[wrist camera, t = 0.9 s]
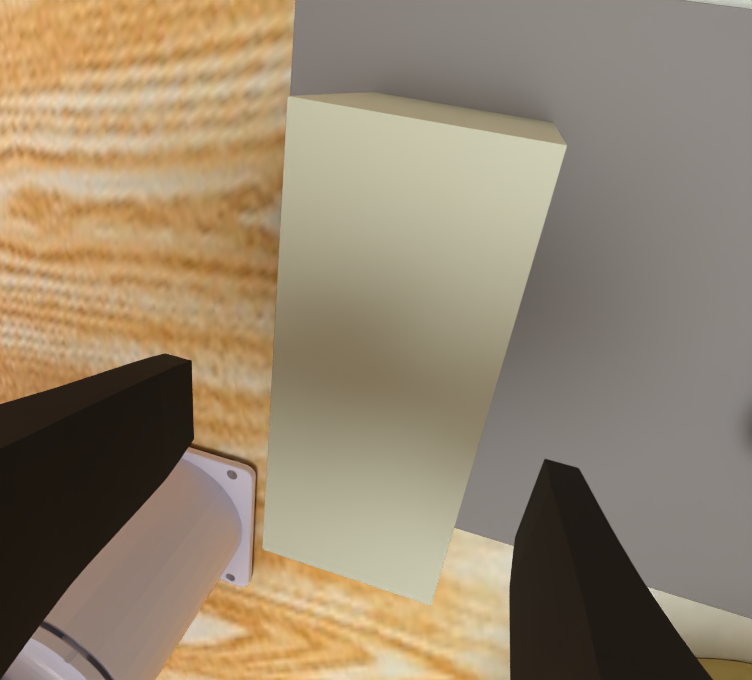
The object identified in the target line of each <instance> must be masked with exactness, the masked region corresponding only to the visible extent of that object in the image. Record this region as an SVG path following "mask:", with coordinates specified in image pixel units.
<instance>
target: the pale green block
mask: <svg viewBox="0 0 752 680" xmlns="http://www.w3.org/2000/svg"><path fill="white" fill-rule="evenodd" d="M566 147H567V145H566V143H565V141H564V139H563V138H562V136H561V134H560V133H559V131H558V129H557V127H556V126H555V124H554V123H553V122H547V121H541V120H535V119H529V118H523V117H517V116H512V115H506V114H500V113H494V112H488V111H482V110H476V109H470V108H465V107H459V106H453V105H447V104H441V103H435V102H429V101H424V100H418V99H412V98H406V97H400V96H394V95H388V94H382V93H377V92H364V93H342V94H321V95H300V96H288V99H287V117H286V135H285V153H284V171H283V189H282V206H281V224H280V242H279V260H278V278H277V296H276V314H275V332H274V350H273V368H272V386H271V404H270V422H269V439H268V457H267V475H266V493H265V511H264V529H263V547H262V549H263V550H266V551H269V552H272V553H275V554H278V555H281V556H284V557H287V558H290V559H293V560H296V561H299V562H302V563H305V564H308V565H311V566H314V567H317V568H320V569H323V570H326V571H329V572H332V573H335V574H338V575H340V576H343V577H346V578H349V579H352V580H355V581H358V582H361V583H364V584H367V585H370V586H373V587H376V588H379V589H382V590H385V591H388V592H391V593H394V594H397V595H400V596H403V597H406V598H409V599H412V600H415V601H418V602H421V603H424V604H427V605H430V606H431V604H432V601H433V597H434V594H435V591H436V587H437V584H438V580H439V577H440V574H441V570H442V567H443V564H444V560H445V557H446V553H447V550H448V547H449V543H450V540H451V536H452V533H453V530H454V526H455V523H456V520H457V516H458V513H459V509H460V506H461V503H462V499H463V496H464V492H465V489H466V486H467V482H468V479H469V476H470V472H471V469H472V465H473V462H474V459H475V455H476V452H477V449H478V445H479V442H480V438H481V435H482V432H483V428H484V425H485V421H486V418H487V415H488V411H489V408H490V405H491V401H492V398H493V394H494V391H495V388H496V384H497V381H498V377H499V374H500V371H501V367H502V364H503V361H504V357H505V354H506V350H507V347H508V344H509V340H510V337H511V334H512V330H513V327H514V323H515V320H516V317H517V313H518V310H519V306H520V303H521V300H522V296H523V293H524V290H525V286H526V283H527V279H528V276H529V273H530V269H531V266H532V262H533V259H534V256H535V252H536V249H537V246H538V242H539V239H540V235H541V232H542V229H543V225H544V222H545V219H546V215H547V212H548V208H549V205H550V202H551V198H552V195H553V191H554V188H555V185H556V181H557V178H558V175H559V171H560V168H561V164H562V161H563V158H564V154H565V151H566Z"/></svg>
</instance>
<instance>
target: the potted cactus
mask: <svg viewBox="0 0 752 680" xmlns="http://www.w3.org/2000/svg"><path fill="white" fill-rule="evenodd" d="M698 661H699V662H700V663H701V665H702V666H703V667H704V669H705V670H706V671H707V672H708V674H709V675H710V676H711V678H712V679H713V680H752V664H749V663H744V662H738V661H729V660H720V659H698Z"/></svg>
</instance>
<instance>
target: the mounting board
mask: <svg viewBox="0 0 752 680" xmlns="http://www.w3.org/2000/svg"><path fill="white" fill-rule="evenodd" d="M364 92H377V93H382V94H388V95H394V96H400V97H406V98H412V99H418V100H424V101H429V102H435V103H441V104H447V105H453V106H459V107H465V108H470V109H476V110H482V111H488V112H494V113H500V114H506V115H512V116H517V117H523V118H529V119H535V120H541V121H547V122H553V123H554V124H555V126H556V127H557V129H558V131H559V133H560V134H561V136H562V138H563V139H564V141H565V143H566V145H567V147H566V151H565V154H564V158H563V161H562V164H561V168H560V171H559V175H558V178H557V181H556V185H555V188H554V191H553V195H552V198H551V202H550V205H549V208H548V212H547V215H546V219H545V222H544V225H543V229H542V232H541V235H540V239H539V242H538V246H537V249H536V252H535V256H534V259H533V262H532V266H531V269H530V273H529V276H528V279H527V283H526V286H525V290H524V293H523V296H522V300H521V303H520V306H519V310H518V313H517V317H516V320H515V323H514V327H513V330H512V334H511V337H510V340H509V344H508V347H507V350H506V354H505V357H504V361H503V364H502V367H501V371H500V374H499V377H498V381H497V384H496V388H495V391H494V394H493V398H492V401H491V405H490V408H489V411H488V415H487V418H486V421H485V425H484V428H483V432H482V435H481V438H480V442H479V445H478V449H477V452H476V455H475V459H474V462H473V465H472V469H471V472H470V476H469V479H468V482H467V486H466V489H465V492H464V496H463V499H462V503H461V506H460V509H459V513H458V516H457V520H456V523H455V526H454V528H457V529H460V530H464V531H467V532H470V533H473V534H477V535H480V536H483V537H487V538H490V539H493V540H496V541H500V542H503V543H506V544H509V545H513V546H514V542H515V536H516V533H517V530H518V528H519V525H520V522H521V520H522V517H523V514H524V512H525V509H526V507H527V504H528V501H529V499H530V496H531V493H532V491H533V488H534V485H535V483H536V480H537V477H538V475H539V472H540V469H541V467H542V464H543V461H544V459H548V460H552V461H555V462H559V463H563V464H566V465H570V466H574V467H577V468H579V469H580V471H581V473H582V474H583V476H584V478H585V480H586V482H587V483H588V485H589V487H590V489H591V491H592V493H593V495H594V497H595V498H596V500H597V502H598V504H599V506H600V508H601V509H602V511H603V513H604V515H605V517H606V518H607V520H608V522H609V524H610V526H611V527H612V529H613V531H614V533H615V535H616V536H617V538H618V540H619V542H620V543H621V545H622V547H623V548H624V550H625V552H626V553H627V555H628V557H629V558H630V560H631V562H632V563H633V565H634V567H635V568H636V570H637V572H638V573H639V575H640V577H641V578H642V580H643V581H644V583H645V584H646V586H647V587H650V588H653V589H656V590H660V591H663V592H666V593H669V594H673V595H676V596H679V597H682V598H686V599H689V600H692V601H695V602H699V603H702V604H705V605H709V606H712V607H715V608H718V609H722V610H725V611H728V612H731V613H735V614H738V615H741V616H744V617H748V618H751V619H752V9H747V8H739V7H731V6H724V5H716V4H708V3H700V2H692V1H684V0H296V3H295V20H294V37H293V55H292V72H291V89H290V96H300V95H321V94H342V93H364Z"/></svg>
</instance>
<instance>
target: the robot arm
mask: <svg viewBox="0 0 752 680" xmlns="http://www.w3.org/2000/svg"><path fill="white" fill-rule="evenodd" d="M193 440H194V427H193V393H192V361H191V360H187V359H183V358H180V357H176V356H172V355H169V354H161V355H157V356H153V357H150V358H146V359H143V360H140V361H136V362H133V363H130V364H127V365H124V366H121V367H118V368H115V369H112V370H109V371H106V372H103V373H100V374H97V375H94V376H91V377H87V378H84V379H81V380H78V381H75V382H72V383H69V384H66V385H63V386H60V387H57V388H54V389H50V390H47V391H44V392H40V393H37V394H34V395H30V396H27V397H23V398H20V399H17V400H13V401H10V402H7V403H3V404H0V680H156V678H157V677H158V675H159V674H160V672H161V670H162V669H163V667H164V666H165V664H166V663H167V661H168V659H169V658H170V656H171V655H172V653H173V651H174V650H175V648H176V647H177V645H178V644H179V642H180V640H181V639H182V637H183V636H184V634H185V632H186V631H187V629H188V628H189V626H190V625H191V623H192V621H193V620H194V618H195V617H196V615H197V613H198V612H199V610H200V609H201V607H202V606H203V604H204V602H205V601H206V599H207V598H208V596H209V594H210V593H211V591H212V590H213V588H214V586H215V585H216V583H217V582H218V580H219V579H220V580H223V581H226V582H229V583H231V584H234V585H237V586H241V587H245V586H247V585H248V584H249V582H250V580H251V576H252V553H253V530H254V507H255V484H256V474H255V472H254V470H253V469H252V468H251V467H250V466H248V465H246V464H242V463H239V462H236V461H233V460H229V459H226V458H223V457H220V456H216V455H213V454H210V453H206V452H203V451H200V450H197V449H193V448H190V447H189V446H190V444H191V443H192V441H193ZM233 471H234V472H235V473H234V472H233ZM510 679H511V680H713V679H712V678H711V676H710V675H709V674H708V672H707V671H706V670H705V669H704V667H703V666H702V665H701V663H700V662H699V661H698V659H697V658H696V657H695V655H694V654H693V653H692V652H691V650H690V649H689V647H688V646H687V645H686V643H685V642H684V641H683V639H682V638H681V636H680V635H679V634H678V632H677V631H676V629H675V628H674V627H673V625H672V624H671V622H670V621H669V619H668V618H667V616H666V615H665V613H664V612H663V610H662V609H661V607H660V606H659V604H658V603H657V601H656V600H655V598H654V597H653V595H652V594H651V592H650V591H649V589H648V588H647V586H646V584H645V583H644V581H643V580H642V578H641V577H640V575H639V573H638V572H637V570H636V568H635V567H634V565H633V563H632V562H631V560H630V558H629V557H628V555H627V553H626V552H625V550H624V548H623V547H622V545H621V543H620V542H619V540H618V538H617V536H616V535H615V533H614V531H613V529H612V527H611V526H610V524H609V522H608V520H607V518H606V517H605V515H604V513H603V511H602V509H601V508H600V506H599V504H598V502H597V500H596V498H595V497H594V495H593V493H592V491H591V489H590V487H589V485H588V483H587V482H586V480H585V478H584V476H583V474H582V473H581V471H580V469H579V468H577V467H574V466H570V465H566V464H563V463H559V462H555V461H552V460H548V459H544V461H543V464H542V467H541V469H540V472H539V475H538V477H537V480H536V483H535V485H534V488H533V491H532V493H531V496H530V499H529V501H528V504H527V507H526V509H525V512H524V514H523V517H522V520H521V522H520V525H519V528H518V530H517V533H516V536H515V542H514V550H513V559H512V569H511V579H510Z"/></svg>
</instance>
